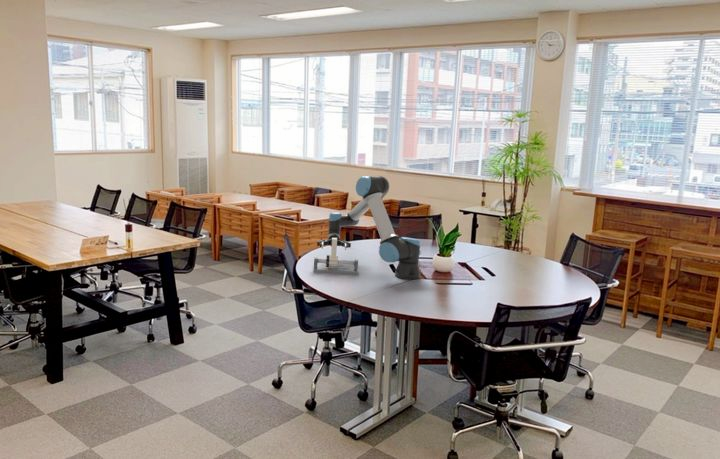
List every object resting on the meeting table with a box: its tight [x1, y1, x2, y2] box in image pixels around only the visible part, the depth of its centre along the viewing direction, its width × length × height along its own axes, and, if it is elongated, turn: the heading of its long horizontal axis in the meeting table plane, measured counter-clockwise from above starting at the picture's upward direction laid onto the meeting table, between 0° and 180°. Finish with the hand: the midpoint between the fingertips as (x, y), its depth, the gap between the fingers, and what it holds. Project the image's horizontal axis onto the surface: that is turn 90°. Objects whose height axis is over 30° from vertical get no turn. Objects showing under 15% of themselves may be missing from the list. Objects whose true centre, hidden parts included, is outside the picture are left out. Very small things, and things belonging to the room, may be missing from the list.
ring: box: [325, 254, 329, 267], centre depth 348 cm, size 2×7×7 cm, turn 2°
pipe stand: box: [312, 257, 359, 276], centre depth 348 cm, size 26×10×8 cm, turn 92°
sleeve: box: [328, 238, 339, 268], centre depth 347 cm, size 5×7×18 cm
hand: (334, 247), depth 344 cm, fingers open, 13 cm apart
